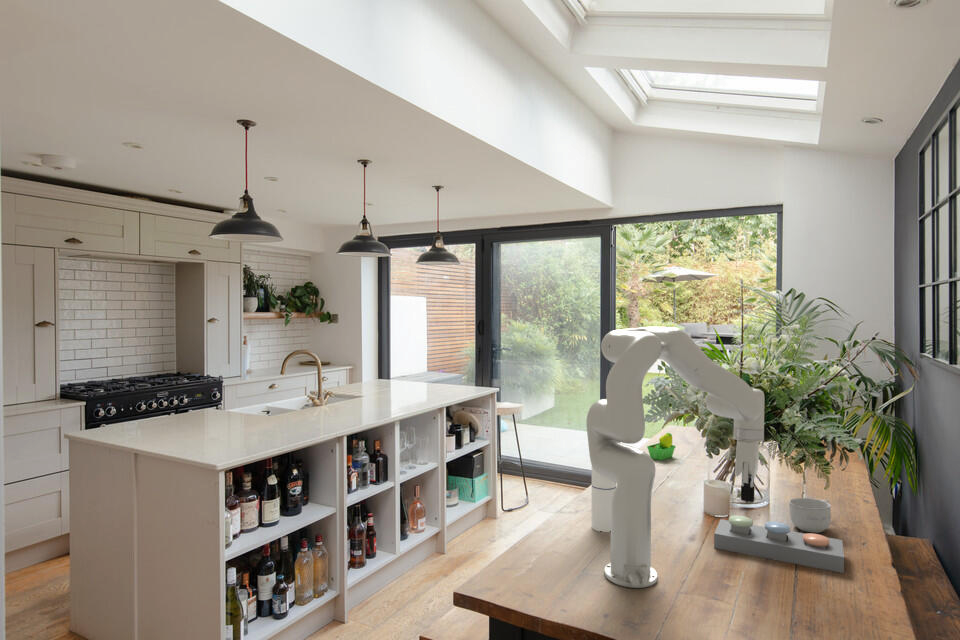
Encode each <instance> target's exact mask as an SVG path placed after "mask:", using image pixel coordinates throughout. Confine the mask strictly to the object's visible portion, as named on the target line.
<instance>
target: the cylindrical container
mask: <svg viewBox="0 0 960 640" xmlns="http://www.w3.org/2000/svg"><path fill="white" fill-rule="evenodd" d="M616 487H617V483H616V482H614V481H612V480H609V479H607V478H605V477H603V476H601V475H599V474H598V473H597V472H596V471H595V470H594V469H593V467H592V466H591V528H592V530H594V531H596V532H600V531H602V532H601V533H611V532H610V531H611V499H612V496H613V494H614V492H615V490H616Z"/></svg>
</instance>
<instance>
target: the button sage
mask: <svg viewBox="0 0 960 640" xmlns="http://www.w3.org/2000/svg"><path fill="white" fill-rule="evenodd" d="M728 521H729V523H730V524H731V532H735V533H740V534H746V535H750V527H751V526H753V525H754V523H753V519H752V518H750V517H747V516H743V515H730V516H729V517H728Z"/></svg>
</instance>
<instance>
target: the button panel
mask: <svg viewBox="0 0 960 640" xmlns="http://www.w3.org/2000/svg"><path fill="white" fill-rule="evenodd" d="M717 524H718V525H716V526H717V527H716V529H715V531H714V532H713V533H714V535H713V542H714V543H713V548H714V549H716V550H717V549H718V550H724V551H726V552H727V551H728V552H733V553H738V554H742V555H749V556H753V557H759V558H763V559H769V560H773V561H774V560H775V561H779V562H785V563H790V564H796V565H800V566H804V567H810V568H813V569H814V568H815V569H818V570H819V569H820V570H826V571H831V572H835V573H841V574H845V553H844V545H843V540H842V539H838V538H833V537H827V538H828V539H829V545H828V546H826V549H824V548H819V547H813V546H807V545H806V542H804V541H803V535H804V534H805V533H803V532H799V531H798V532H797V531H791V530H790V532H789V533H787V542H785V541H780V540H774V539H768V530H766V529H765V526H762V525H755V524H753V526H751V527H750V535H746V534H740V533H735V532H731V524H730V523H729V519H728V520H727V519H722V518H721V519H719V522H718V523H717Z"/></svg>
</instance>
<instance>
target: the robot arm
mask: <svg viewBox="0 0 960 640" xmlns="http://www.w3.org/2000/svg"><path fill="white" fill-rule="evenodd" d="M600 346H601V347H600V349H601V352H602V353H601V354H602V355H603V357H604V358H605V359H606V360H607V361H609V362H611V363H614V364H613V365H612V366H611V368H610V370H609V372H608V375H607V376H606V377H607V378H606V382H605V396H606V398H602V399H601V398H600V399H598V400H597V401H594V402H593V403H592V404H591V406H590V407H589V408H588V409H589V410H588V412H587V414H586V420H585V421H586V435H587V444H588V445H587V446H588V452H589V461H590V463H591V468H592V467H593V469H594V470H595V471H596V472H597V473H598V474H599V475H601V476H603V477H605V478H607V479H609V480H612V481H614V482H616V490H615V492H614V494H613V496H612V499H611V532H610V562H608V563H607V564H606V565H605V566H604V568H603V574H604V576H605V578H607V580H609V581H610V582H611V583H613V584H614V585H615V584H616V585H618V586H621V587H626V588H629V589H630V588H633V589H643V588H647V587H651V586H653V585H655V584H656V583H657V581H658V572H657V571H656V570H655V568H653V567H652V563H651V562H652V557H651V556H652V494H653V486H654V484H655V483H654V482H655V477H656V470H657V469H656V465H655V464H656V463H655V462H654V459H653V458H651V457H650V454H649V453H647V452H645V451H643V450H642V449H639V448H637V447H634V446H631V445H633V444H636V443H639V442H640V441H642V439H643V438H644V436H645V433H646V432H645V431H646V420H645V410H644V400H643V398H644V397H643V384H644V379H645V378H646V375H647V374H648V372H649V370H650V369H651V368H652V367H653V366H654V365H655V363H656V362H657V361H658V360H662V361H664V362H666V363H667V364H668V365H669V367H671V369H673V370H674V371H675V373H676V374H677V375H679V377H680V378H681V379H682V380H683V381H684V382H685V383H686V384H687V385H689V386H691V387H693V388H695V389H697V390H699V391H702V392H705V393H707V395H706V398H705V406H706V408H707V410H708V411H709V412H710V413H711V414H713V415H716V416H718V417H722V418H728V419H732V420H733V439H734V440H736V446H735V447H736V450H735V471H734V475H735V476H736V477H739V476H740V475H741V485H740V500H741V501H743V502H750V503H753V502H754V501H755V488H756V487H755V477H756V476H757V473H758V469H759V459H760V458H759V457H760V443H762V442H764V441H765V393H764V391H763V390H761V389H758V388H754V387H753V388H752V387H751V386H750V385H749V384H748V382H746V381H745V380H744V379H743V378H741V377H739V376H738V375H736V374H735V373H733V372H731V371H730V370H728V369H726V368H725V367H723V366H721V365H719V364H718V363H717V362H715V361H713V360H711V358H710V357H709V356H708V355H707V354H706V353H705V352H704V351H703V350H702V349H701V348H700V347H699V345H697V343H696V342H695V341H694V340H693V339H692V338H691V337H690V336H689V335H688V334H687V332H685V331H684V330H682V329H680V328H679V327H672V326H671V327H670V326H645V327H635V328H623V329H615V330H614V329H613V330H611V331H608V333H606V334H605V335H604V337H603V338H602V340H601V345H600ZM627 444H628V445H627ZM630 444H631V445H630Z"/></svg>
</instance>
